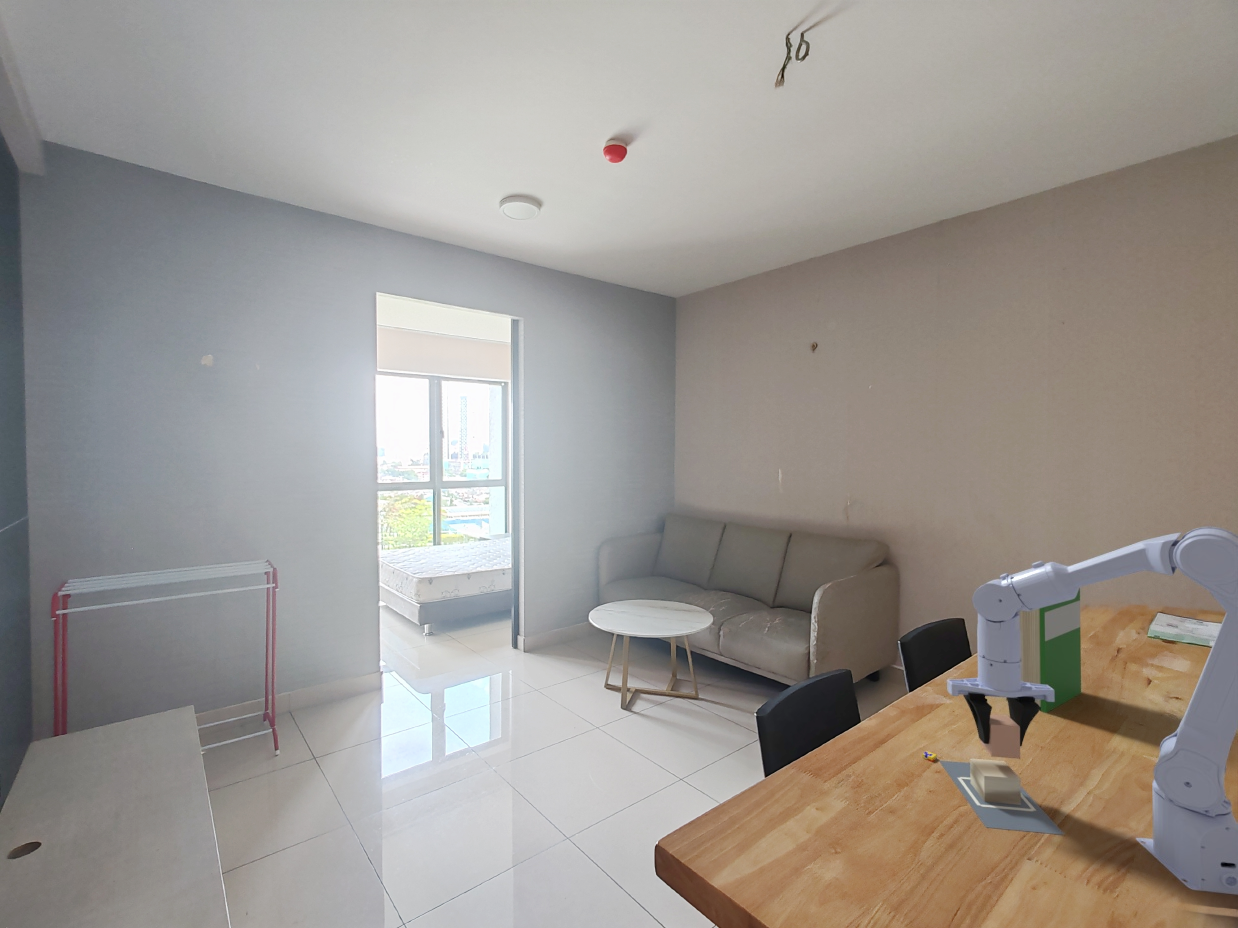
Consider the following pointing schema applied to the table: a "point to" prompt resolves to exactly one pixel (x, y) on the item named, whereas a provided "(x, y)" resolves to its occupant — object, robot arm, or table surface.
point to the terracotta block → (1003, 737)
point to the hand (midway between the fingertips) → (1000, 741)
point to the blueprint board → (1001, 806)
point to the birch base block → (995, 781)
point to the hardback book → (1052, 650)
